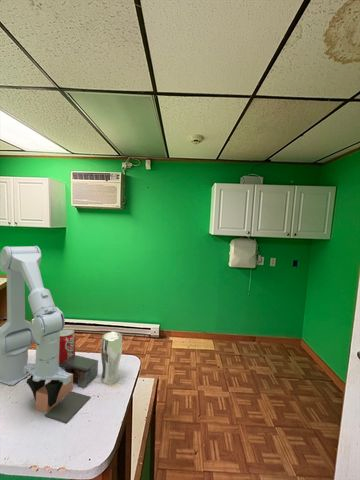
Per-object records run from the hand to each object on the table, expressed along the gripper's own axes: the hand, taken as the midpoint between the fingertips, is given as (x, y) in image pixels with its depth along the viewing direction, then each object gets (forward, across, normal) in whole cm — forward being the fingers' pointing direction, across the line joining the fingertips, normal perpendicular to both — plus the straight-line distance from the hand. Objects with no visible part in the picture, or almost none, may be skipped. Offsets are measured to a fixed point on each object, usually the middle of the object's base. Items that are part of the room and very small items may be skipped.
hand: (45, 402), depth 67 cm
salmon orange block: (+1, 0, +4) cm, 4 cm away
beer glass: (+2, +10, +17) cm, 20 cm away
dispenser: (+1, 0, +14) cm, 14 cm away
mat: (+1, +6, +2) cm, 7 cm away
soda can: (+2, -9, +17) cm, 20 cm away
